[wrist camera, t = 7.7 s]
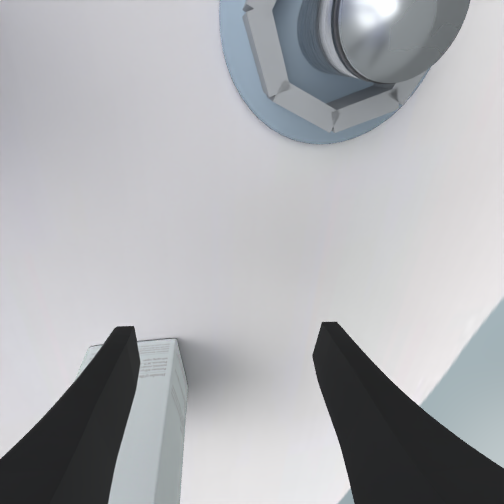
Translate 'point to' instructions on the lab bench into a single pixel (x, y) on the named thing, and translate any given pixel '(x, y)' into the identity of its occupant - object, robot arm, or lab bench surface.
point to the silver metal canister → (378, 36)
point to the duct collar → (298, 77)
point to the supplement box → (152, 428)
